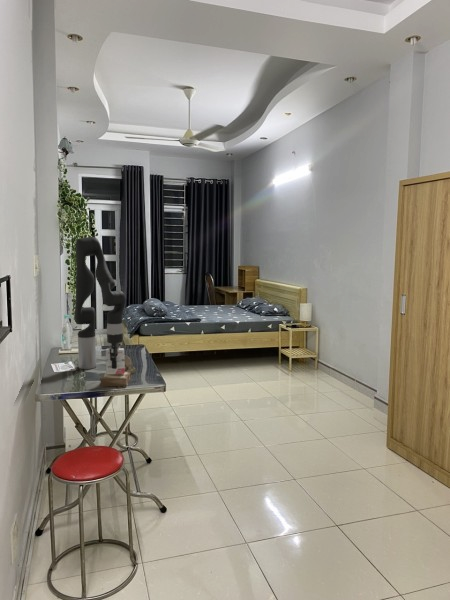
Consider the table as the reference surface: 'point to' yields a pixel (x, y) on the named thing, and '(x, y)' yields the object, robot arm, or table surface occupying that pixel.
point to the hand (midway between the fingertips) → (115, 366)
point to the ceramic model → (128, 365)
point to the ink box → (120, 362)
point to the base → (115, 379)
